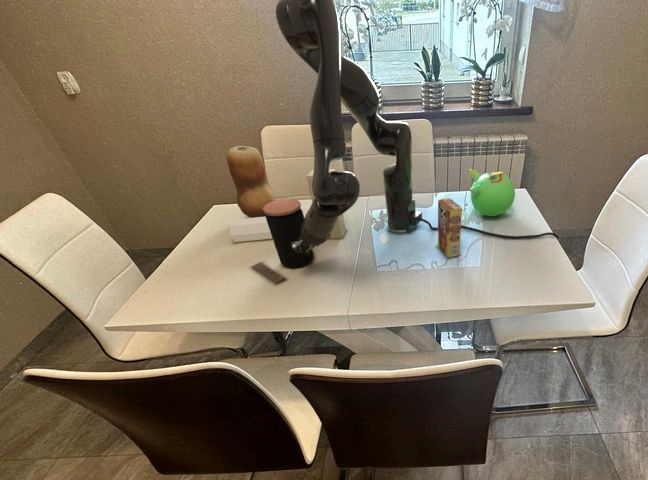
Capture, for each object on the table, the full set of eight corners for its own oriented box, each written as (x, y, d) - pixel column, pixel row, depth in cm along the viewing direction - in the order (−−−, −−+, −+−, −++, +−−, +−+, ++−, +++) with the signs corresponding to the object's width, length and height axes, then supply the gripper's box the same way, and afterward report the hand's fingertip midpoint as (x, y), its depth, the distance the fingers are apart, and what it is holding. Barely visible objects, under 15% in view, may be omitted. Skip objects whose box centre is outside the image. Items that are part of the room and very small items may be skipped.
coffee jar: (320, 255, 123) (307, 199, 111) (303, 271, 116) (286, 214, 103) (293, 251, 126) (276, 197, 114) (274, 267, 119) (254, 211, 106)
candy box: (460, 255, 119) (462, 207, 108) (448, 258, 118) (448, 210, 107) (449, 243, 125) (450, 197, 114) (437, 246, 124) (437, 199, 113)
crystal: (222, 236, 128) (293, 229, 129) (223, 218, 130) (293, 212, 131) (232, 248, 135) (300, 242, 136) (233, 231, 137) (299, 225, 138)
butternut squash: (278, 222, 144) (256, 150, 127) (242, 227, 142) (215, 155, 125) (280, 208, 154) (259, 140, 137) (246, 212, 152) (221, 144, 135)
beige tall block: (347, 229, 136) (336, 167, 122) (342, 238, 131) (330, 175, 117) (326, 229, 137) (312, 168, 123) (320, 238, 132) (305, 176, 118)
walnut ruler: (285, 279, 113) (285, 278, 112) (276, 284, 111) (276, 282, 111) (261, 263, 121) (260, 262, 120) (252, 267, 119) (251, 266, 119)
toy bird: (516, 222, 134) (522, 179, 124) (468, 224, 135) (470, 181, 125) (508, 202, 147) (512, 162, 137) (464, 204, 148) (466, 164, 138)
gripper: (330, 204, 103) (315, 234, 117) (288, 220, 96) (278, 250, 111) (346, 227, 103) (328, 255, 118) (305, 245, 97) (292, 272, 111)
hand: (304, 252), depth 114 cm, fingers closed
